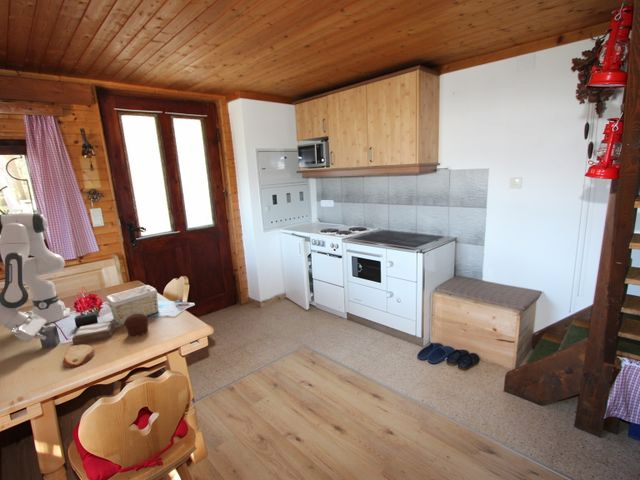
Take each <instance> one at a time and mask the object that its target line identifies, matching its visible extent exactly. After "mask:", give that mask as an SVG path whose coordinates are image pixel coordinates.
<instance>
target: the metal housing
mask: <svg viewBox="0 0 640 480" xmlns="http://www.w3.org/2000/svg"><path fill="white" fill-rule="evenodd" d="M57 326H58V325H53V326H46V328H42V329H41V330H39V331H38V333H40V334H41V335H46V336H47V338H46V339H45V340H42V339H39V341H40V344H41V345H40V346H41V348H42V350H45V349H49V348H54V347H58V345H59V344H60V343H61V339H60V335H59V332H58V327H57Z"/></svg>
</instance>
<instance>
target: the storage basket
mask: <svg viewBox="0 0 640 480" xmlns="http://www.w3.org/2000/svg"><path fill="white" fill-rule="evenodd" d="M106 302H107V303H108V305H109V308H110V311H111V315H112V317H113V320H114V321H116V322H117V324H119V325H124V322H125V320H126V319H127V318H128V317H129V316H131V315H133V314H138V313H139V314H144V315H146V316H147V317H148V316H151V315H153V314H155V313H158V312H159V311H160V310H159V304H158V303H159V302H158V290H157V289H156V287H153V286H151V285H149V284H145V285H142V286H138V287H135V288H134V287H133V288H131V289H127V290H124V291H120V292H116V293H112V294H109V295H106Z"/></svg>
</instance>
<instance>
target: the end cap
mask: <svg viewBox="0 0 640 480" xmlns="http://www.w3.org/2000/svg"><path fill="white" fill-rule="evenodd" d="M74 323H75V327H76V329H78V328H79V327H81V326H86V325H91V324H96V323H99V321H98V317H97V313H96V311H92V312H89V313H88V314H84V315H83V314H80V315H76V316H75V317H74Z"/></svg>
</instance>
